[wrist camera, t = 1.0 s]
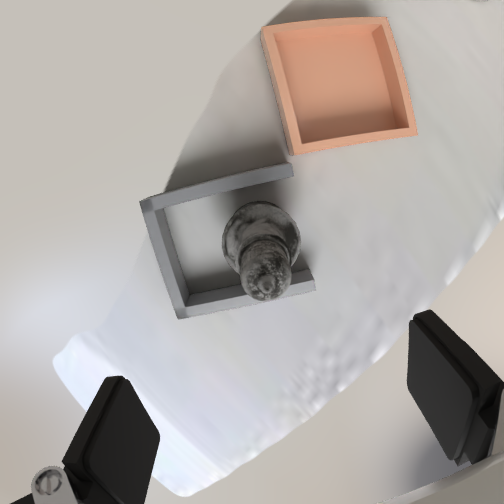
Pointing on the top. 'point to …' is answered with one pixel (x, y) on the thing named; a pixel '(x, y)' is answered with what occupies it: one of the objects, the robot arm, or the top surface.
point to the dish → (337, 82)
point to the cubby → (167, 254)
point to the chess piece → (262, 249)
